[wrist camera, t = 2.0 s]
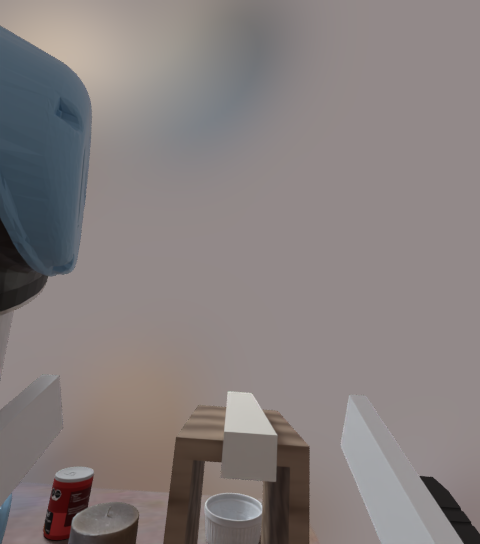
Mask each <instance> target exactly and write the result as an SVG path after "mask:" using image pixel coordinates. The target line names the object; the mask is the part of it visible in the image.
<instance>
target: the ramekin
mask: <svg viewBox="0 0 480 544" xmlns="http://www.w3.org/2000/svg"><path fill="white" fill-rule="evenodd" d="M261 525H262V504H261V503H260V502H259V501H258V500H256V499H254V498H252V497H250V496H247V495H243V494H238V493H222V494H218V495H214V496H212V497H210V498H209V499H208V500H207V501H206V503H205V531H206V540H207V543H208V544H258V543H259V539H260V533H261Z"/></svg>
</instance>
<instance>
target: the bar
mask: <svg viewBox="0 0 480 544" xmlns="http://www.w3.org/2000/svg"><path fill="white" fill-rule="evenodd" d="M276 467H277V434H276V432H275V430H274V429H273V427H272V425H271V424H270V422H269V421H268V419H267V417H266V416H265V414H264V412H263V411H262V409H261V407H260V406H259V404H258V402H257V401H256V399H255V398H254V396H253V394H252V393H243V392H230V391H228V396H227V407H226V417H225V427H224V439H223V452H222V465H221V478H228V479H242V480H256V481H270V482H276Z"/></svg>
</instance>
